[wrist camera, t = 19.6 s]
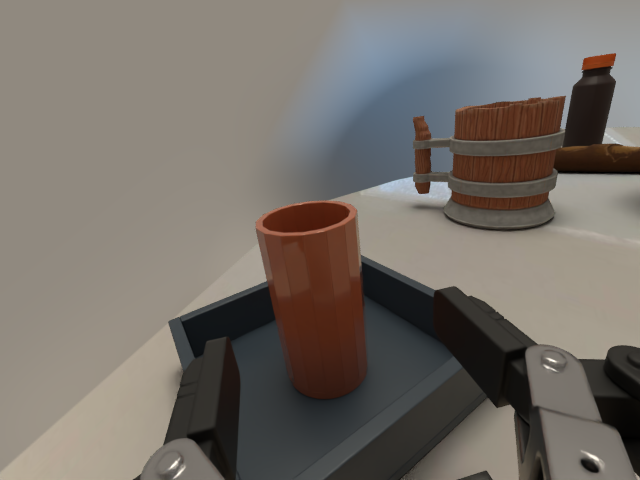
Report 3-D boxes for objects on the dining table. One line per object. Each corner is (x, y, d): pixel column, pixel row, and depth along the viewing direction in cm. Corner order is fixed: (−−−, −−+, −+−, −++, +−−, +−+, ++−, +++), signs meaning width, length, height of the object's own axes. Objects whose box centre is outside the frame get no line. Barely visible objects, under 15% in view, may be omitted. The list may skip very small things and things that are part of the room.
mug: (551, 237, 36) (577, 98, 30) (396, 220, 47) (393, 116, 41) (556, 202, 46) (576, 92, 40) (427, 194, 57) (429, 108, 51)
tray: (263, 608, 12) (237, 549, 10) (185, 365, 24) (167, 320, 22) (504, 381, 19) (512, 326, 18) (350, 285, 32) (347, 248, 30)
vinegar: (565, 154, 74) (583, 59, 66) (602, 154, 69) (626, 52, 61) (555, 159, 70) (573, 59, 62) (594, 160, 65) (618, 52, 57)
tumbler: (315, 416, 18) (283, 245, 14) (274, 360, 22) (241, 218, 18) (386, 368, 20) (378, 212, 16) (336, 327, 25) (320, 195, 21)
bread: (742, 169, 49) (755, 137, 47) (754, 177, 46) (769, 142, 44) (480, 167, 72) (482, 145, 70) (475, 172, 68) (477, 149, 66)
